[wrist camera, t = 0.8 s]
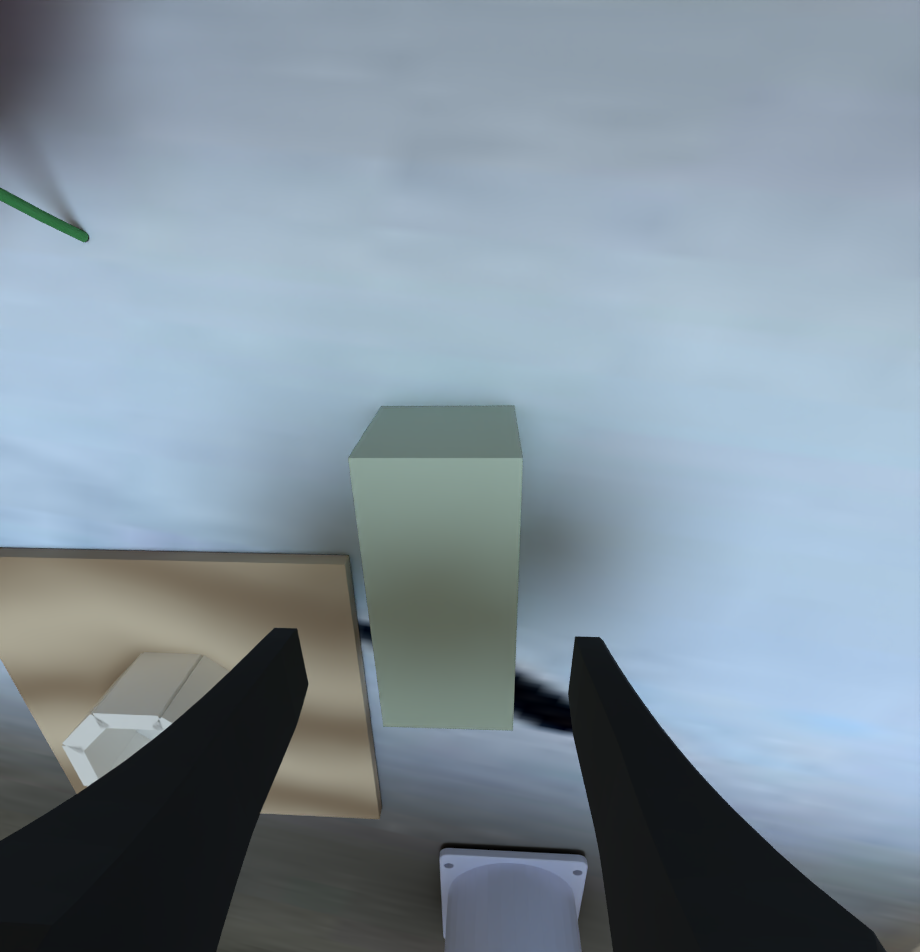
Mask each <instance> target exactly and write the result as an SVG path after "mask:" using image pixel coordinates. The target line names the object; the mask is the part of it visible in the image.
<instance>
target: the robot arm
mask: <svg viewBox="0 0 920 952" xmlns="http://www.w3.org/2000/svg"><path fill="white" fill-rule="evenodd" d="M308 685H309V684H308V679H307V674H306V669H305V664H304V659H303V654H302V649H301V645H300V640H299V635H298V630H297V628H274V629H273V630H272V631H270V632H269V633H268V634H267V635H266V636H265V637H264V638H263V639H262V640H261V641H260V642H259V643H258V644H257V645H256V646H255V647H254V648H253V649H252V650H251V651H250V652H249V653H248V654H247V655H246V656H245V657H244V658H243V659H242V660H241V661H240V662H239V663H238V664H237V665H236V666H235V667H234V668H233V669H232V670H231V671H230V672H228V673H227V674H226V675H225V676H224V677H223V678H222V679H221V680H220V681H219V682H218V683H217V684H216V685H215V686H214V687H213V688H212V689H211V690H209V691H208V692H207V693H206V694H205V695H204V696H203V697H202V698H201V699H200V700H198V701H197V702H196V703H195V704H194V705H193V706H192V707H191V708H189V709H188V710H187V711H186V712H185V713H184V714H183V715H181V716H180V717H179V718H178V719H177V720H176V721H175V722H173V723H172V724H171V725H170V726H169V727H167V728H166V729H165V730H164V731H163V732H161V733H160V734H159V735H158V736H156V737H155V738H154V739H153V740H151V741H150V742H149V743H147V744H146V745H145V746H144V747H142V748H141V749H140V750H138V751H137V752H136V753H134V754H133V755H132V756H131V757H129V758H128V759H126V760H125V761H124V762H122V763H121V764H120V765H118V766H117V767H115V768H114V769H112V770H111V771H109V772H108V773H107V774H105V775H104V776H102V777H101V778H99V779H98V780H96V781H95V782H94V783H92V784H91V785H89V786H88V787H86V788H85V789H83V790H82V791H80V792H79V793H78V794H76V795H75V796H73V797H72V798H70V799H68V800H67V801H65V802H64V803H62V804H61V805H59V806H57V807H56V808H54V809H53V810H51V811H50V812H48V813H46V814H45V815H43V816H41V817H40V818H38V819H36V820H35V821H33V822H32V823H30V824H28V825H27V826H25V827H23V828H22V829H20V830H18V831H17V832H15V833H13V834H11V835H10V836H8V837H6V838H5V839H3V840H1V841H0V952H216V950H217V947H218V943H219V940H220V936H221V932H222V929H223V926H224V922H225V919H226V916H227V912H228V909H229V906H230V903H231V899H232V896H233V893H234V889H235V886H236V883H237V879H238V876H239V873H240V870H241V867H242V864H243V861H244V858H245V855H246V851H247V848H248V845H249V842H250V839H251V836H252V833H253V831H254V828H255V825H256V823H257V820H258V817H259V815H260V812H261V810H262V808H263V805H264V803H265V801H266V798H267V796H268V793H269V791H270V789H271V786H272V784H273V782H274V779H275V777H276V774H277V772H278V770H279V767H280V765H281V763H282V760H283V758H284V755H285V753H286V751H287V748H288V746H289V743H290V741H291V738H292V736H293V734H294V731H295V729H296V726H297V723H298V720H299V717H300V713H301V710H302V707H303V703H304V700H305V696H306V692H307V689H308ZM568 696H569V704H570V713H571V721H572V729H573V736H574V741H575V745H576V750H577V754H578V758H579V763H580V767H581V772H582V776H583V780H584V785H585V789H586V793H587V798H588V802H589V806H590V811H591V815H592V819H593V824H594V828H595V833H596V838H597V843H598V848H599V853H600V860H601V867H602V874H603V881H604V888H605V895H606V901H607V909H608V916H609V924H610V931H611V938H612V946H613V952H886V951H885V949H884V948H883V946H882V945H881V943H880V942H879V940H878V938H877V937H876V935H875V933H874V932H873V931H872V930H871V929H869V928H868V927H867V926H866V925H864V924H863V923H862V922H861V921H859V920H858V919H857V918H856V917H854V916H853V915H852V914H851V913H850V912H848V911H847V910H846V909H845V908H843V907H842V906H841V905H840V904H838V903H837V902H836V901H835V900H833V899H832V898H831V897H830V896H828V895H827V894H826V893H825V892H824V891H822V890H821V889H820V888H819V887H817V886H816V885H815V884H814V883H812V882H811V881H810V880H809V879H808V878H807V877H805V876H804V875H803V874H802V873H801V872H800V871H799V870H798V869H796V868H795V867H794V866H793V865H792V864H791V863H790V862H789V861H787V860H786V859H785V858H784V857H783V856H782V855H781V854H780V853H778V852H777V851H776V850H775V849H774V848H773V847H772V846H771V845H770V844H769V843H768V842H767V841H766V840H765V839H764V838H763V837H762V836H761V835H760V834H759V833H758V832H756V831H755V830H754V829H753V828H752V827H751V826H750V825H749V824H748V823H747V822H746V821H745V820H744V819H743V818H742V817H741V816H740V815H739V814H738V813H737V812H736V811H735V810H734V809H733V808H732V807H731V806H730V805H729V804H728V803H727V802H726V801H725V800H724V799H723V798H722V797H721V796H720V795H719V794H718V793H717V792H716V791H715V790H714V788H713V787H712V786H711V785H710V784H709V783H708V782H707V781H706V780H705V779H704V778H703V776H702V775H701V774H700V773H699V772H698V771H697V770H696V769H695V767H694V766H693V765H692V764H691V763H690V762H689V761H688V759H687V758H686V757H685V756H684V755H683V753H682V752H681V751H680V750H679V749H678V747H677V746H676V745H675V744H674V742H673V741H672V740H671V739H670V737H669V736H668V735H667V734H666V732H665V731H664V730H663V729H662V727H661V726H660V725H659V723H658V722H657V721H656V719H655V718H654V717H653V715H652V714H651V713H650V711H649V710H648V709H647V707H646V706H645V704H644V703H643V702H642V700H641V699H640V697H639V696H638V695H637V693H636V692H635V690H634V689H633V687H632V686H631V684H630V683H629V681H628V680H627V678H626V677H625V675H624V674H623V672H622V671H621V669H620V668H619V666H618V665H617V663H616V661H615V660H614V658H613V656H612V655H611V653H610V652H609V650H608V648H607V646H606V645H605V643H604V641H603V640H602V639H601V638H600V637H575V642H574V651H573V659H572V667H571V675H570V683H569V691H568ZM439 860H440V880H441V900H442V919H443V936H444V938H445V951H444V952H582V950H581V943H580V935H579V927H578V917H579V912H580V906H581V901H582V895H583V890H584V885H585V879H586V874H587V869H588V866H587V859H586V858H585V857H584V856H582V855H577V854H558V853H538V852H519V851H500V850H481V849H462V848H444V849H442V850H441V851H440V858H439Z"/></svg>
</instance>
